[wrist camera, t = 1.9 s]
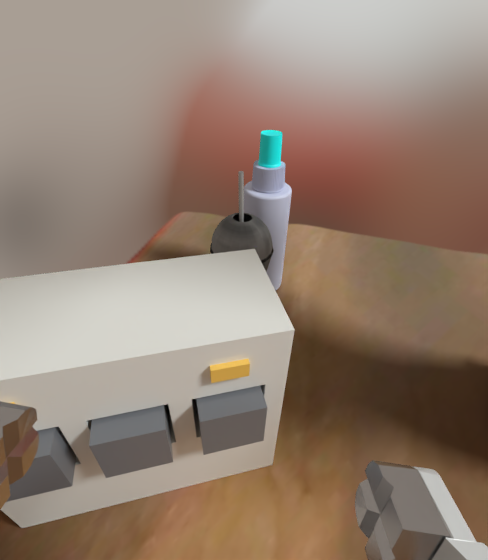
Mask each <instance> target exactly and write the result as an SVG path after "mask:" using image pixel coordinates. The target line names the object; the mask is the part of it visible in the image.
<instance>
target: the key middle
mask: <svg viewBox="0 0 488 560" xmlns="http://www.w3.org/2000/svg"><path fill="white" fill-rule="evenodd" d="M89 447H90V449H91V451H92V453H93V455H94V457H95V458H96V460H97V462H98V464H99V466H100V468H101V469H102V471H103V473H104V475H105V477H106V478H109V477H113V476H117V475H122V474H126V473H130V472H134V471H138V470H143V469H147V468H151V467H155V466H159V465H164V464H168V463H172V462H173V453H172V441H171V429H170V416H169V410H168V405H167V404H166V405H162V406H157V407H152V408H147V409H142V410H137V411H132V412H127V413H122V414H117V415H112V416H107V417H102V418H98V419H93V420H92V422H91V432H90V441H89Z"/></svg>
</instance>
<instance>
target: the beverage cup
mask: <svg viewBox="0 0 488 560" xmlns="http://www.w3.org/2000/svg"><path fill="white" fill-rule="evenodd" d="M243 184H244V181H243V172H242V171H240V172H239V213H235V214H232V215H229V216H228V217H226V218H225V219H223V220H222V221H221V222H220V223H219V225H218V226H217V228H216V229H215V231H214V233H213V237H212V243H211V248H210V252H211V254H214V253H223V252H231V251H240V250H248V249H255V250H256V252H257V254H258V256H259V258H260V260H261V262H262V264H263V266H264V269H265V271H266V272H267V269H268V266H269V263H270V260H271V257H272V254H273V251H274V250H273V246H272V238H271V234H270V231H269V229H268V227H267V226H266V225H265V223H264V222H263V221H262V220H261V219H260V218H258V217H257V216H255V215H252V214H249V213H244V188H243V187H244V185H243Z"/></svg>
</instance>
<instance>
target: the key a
mask: <svg viewBox="0 0 488 560" xmlns="http://www.w3.org/2000/svg"><path fill="white" fill-rule="evenodd" d="M37 432H38V434H39V444H38V450H37V453H36V455H35V458H34V460H33V462H32V465H31V466H30V468H29V469H28V471H27V472H26V474H25V475H24V477H22V478H20V479H19V480H17V481H16V482H14V483H12V484H11V485H10V497H9V498H8V500H7V501H6V502H8V501H12V500H16V499H21V498H25V497H29V496H33V495H37V494H42V493H46V492H50V491H54V490H58V489H63V488H67V487H71V486H72V485H73V477H74V470H75V462H76V454H75V453H74V451H73V449H72V448H71V446H70V445H69V443H68V441H67V440H66V438H65V436H64V435H63V433H62V431H61V430H60V428H59V427H53V428H48V429H43V430H38V431H37Z"/></svg>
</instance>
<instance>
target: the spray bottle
mask: <svg viewBox="0 0 488 560" xmlns="http://www.w3.org/2000/svg"><path fill="white" fill-rule="evenodd" d="M281 147H282V132H280V131H276V130H265V131H262V132H261V139H260V153H259V160H257V161H255V162H254V167H253V178H252V181H250V182H249V183H247V184H246V185H245V187H244V213H249V214H252V215H255V216H257V217H258V218H260V219H261V220H262V221H263V222H264V223H265V225H266V226H267V227H268V229H269V231H270V234H271V238H272V246H273V250H274V251H273V254H272V257H271V260H270V263H269V266H268V269H267V272H266V273H267V275H268V277H269V279H270V281H271V283H272V285H273V287H274V289H275V291H276V290H277V289H278V288H279V287H280V285H281V280H282V272H283V263H284V254H285V246H286V237H287V228H288V219H289V210H290V202H291V193H292V190H291V187H290V186H289V185H288V184H286V183H284V181H285V163H284V162H282V161H281Z"/></svg>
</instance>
